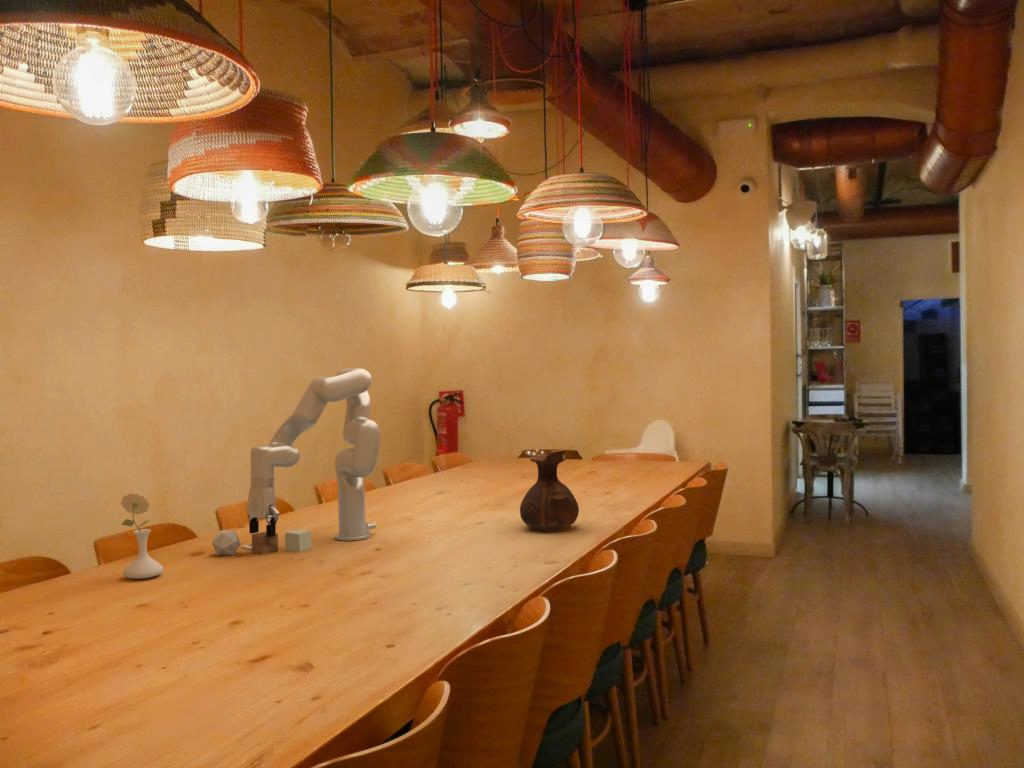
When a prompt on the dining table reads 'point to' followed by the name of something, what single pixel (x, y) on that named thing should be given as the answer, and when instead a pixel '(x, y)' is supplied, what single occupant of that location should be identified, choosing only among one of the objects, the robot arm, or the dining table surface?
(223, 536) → the die
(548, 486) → the dark brown vase
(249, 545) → the tile
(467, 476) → the dining table surface
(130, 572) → the flower in vase
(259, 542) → the walnut block
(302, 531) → the sage block
